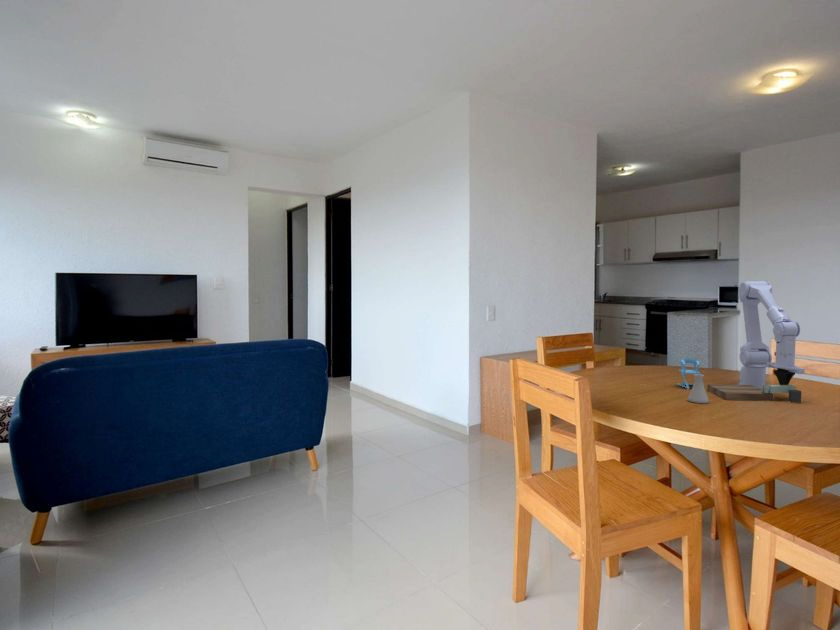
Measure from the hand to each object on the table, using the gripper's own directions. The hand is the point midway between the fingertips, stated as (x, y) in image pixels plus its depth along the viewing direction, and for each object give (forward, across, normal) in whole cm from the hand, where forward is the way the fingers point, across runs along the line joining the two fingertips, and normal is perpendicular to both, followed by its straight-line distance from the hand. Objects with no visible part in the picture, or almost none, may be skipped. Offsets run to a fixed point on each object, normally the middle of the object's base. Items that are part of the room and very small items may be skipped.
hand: (783, 389), depth 180 cm
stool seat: (+3, -7, -13) cm, 15 cm away
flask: (+3, -1, -34) cm, 34 cm away
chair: (+4, -23, -22) cm, 32 cm away
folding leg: (+1, +2, -4) cm, 4 cm away
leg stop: (+3, +6, -1) cm, 7 cm away
